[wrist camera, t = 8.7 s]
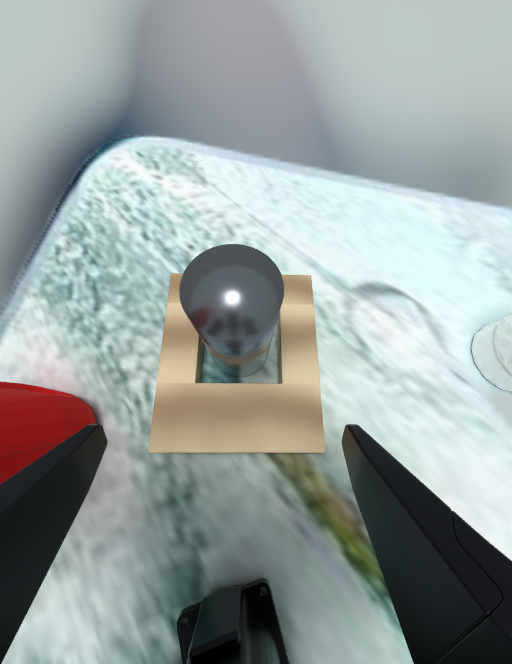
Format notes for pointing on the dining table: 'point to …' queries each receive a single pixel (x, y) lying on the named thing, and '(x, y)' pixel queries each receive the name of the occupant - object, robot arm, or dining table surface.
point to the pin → (233, 304)
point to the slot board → (240, 388)
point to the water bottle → (36, 423)
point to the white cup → (495, 352)
